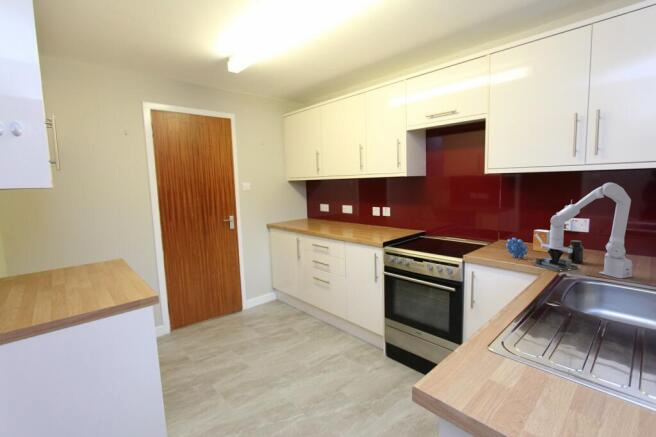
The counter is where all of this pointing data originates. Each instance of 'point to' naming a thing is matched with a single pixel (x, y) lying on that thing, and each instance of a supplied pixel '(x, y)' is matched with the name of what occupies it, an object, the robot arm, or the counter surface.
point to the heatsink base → (562, 264)
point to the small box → (541, 240)
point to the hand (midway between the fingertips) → (555, 263)
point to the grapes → (516, 247)
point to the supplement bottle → (576, 252)
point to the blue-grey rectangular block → (548, 260)
